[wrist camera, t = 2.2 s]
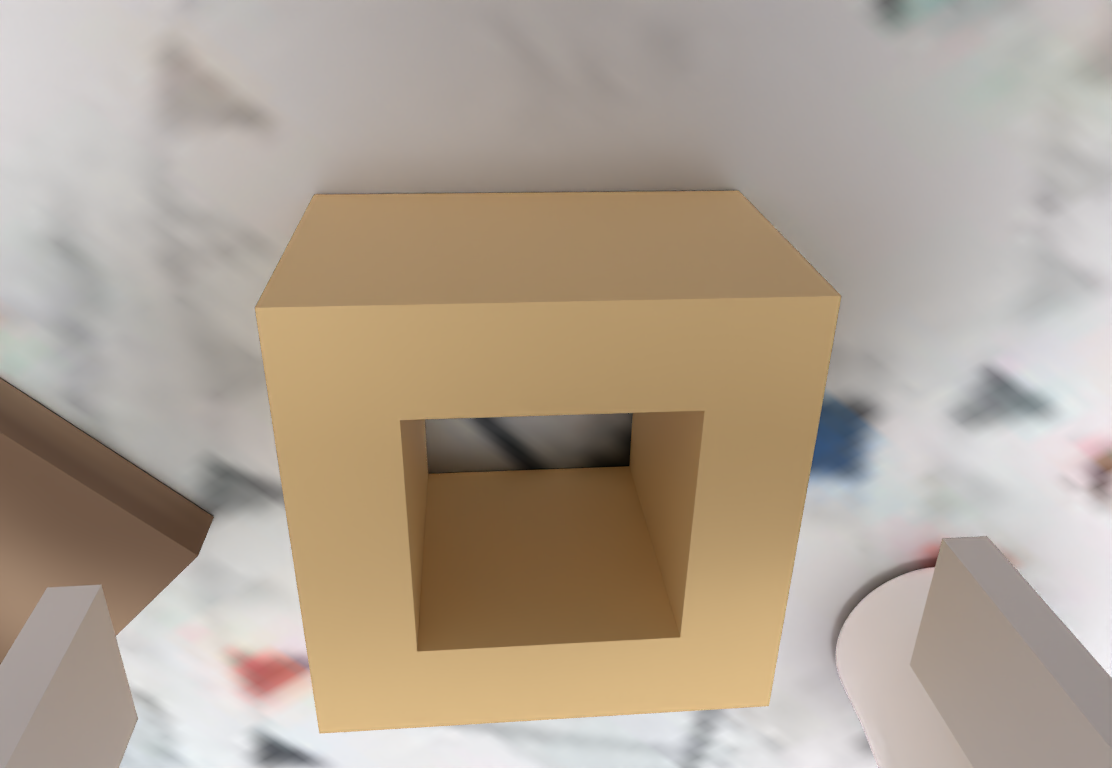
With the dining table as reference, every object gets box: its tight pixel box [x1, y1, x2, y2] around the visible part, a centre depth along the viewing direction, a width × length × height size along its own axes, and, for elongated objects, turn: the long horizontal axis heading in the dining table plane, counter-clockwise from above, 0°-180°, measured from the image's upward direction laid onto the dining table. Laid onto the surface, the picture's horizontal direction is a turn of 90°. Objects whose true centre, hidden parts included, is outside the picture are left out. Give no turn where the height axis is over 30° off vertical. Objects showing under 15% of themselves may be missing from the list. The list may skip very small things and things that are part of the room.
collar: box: [255, 191, 841, 733], centre depth 18 cm, size 9×9×6 cm
